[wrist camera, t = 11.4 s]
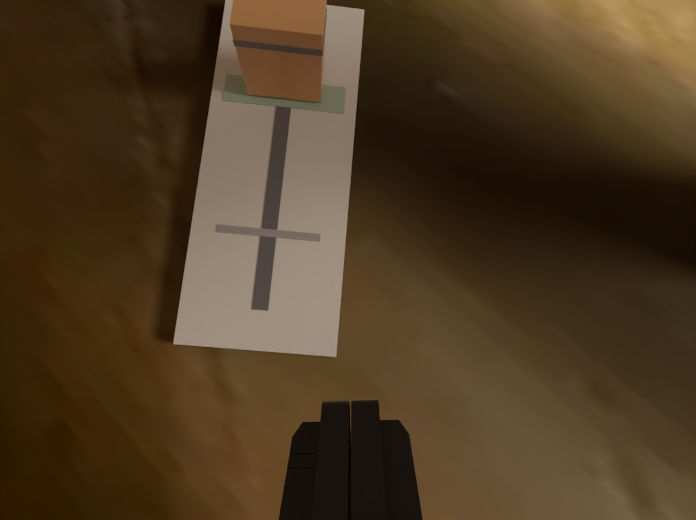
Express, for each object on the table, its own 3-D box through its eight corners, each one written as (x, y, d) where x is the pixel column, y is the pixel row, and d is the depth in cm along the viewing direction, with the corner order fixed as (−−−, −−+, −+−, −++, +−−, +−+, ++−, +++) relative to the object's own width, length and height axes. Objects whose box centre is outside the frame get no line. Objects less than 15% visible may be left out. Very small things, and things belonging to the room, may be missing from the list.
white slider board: (334, 356, 36) (336, 356, 34) (180, 344, 36) (172, 344, 34) (361, 25, 42) (364, 8, 40) (230, 9, 42) (226, -9, 40)
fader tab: (321, 103, 38) (323, 35, 30) (246, 94, 38) (228, 24, 30) (324, 67, 39) (327, -8, 31) (251, 58, 38) (235, -19, 30)
